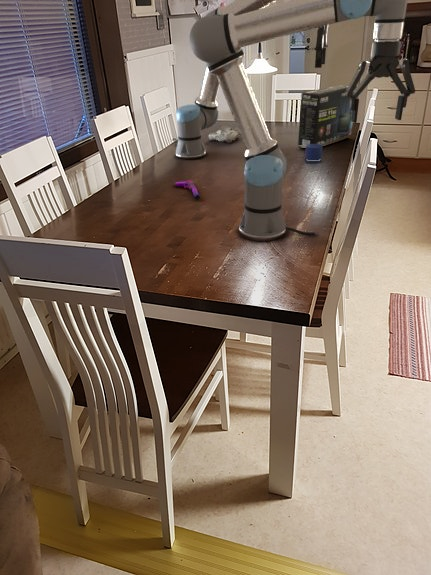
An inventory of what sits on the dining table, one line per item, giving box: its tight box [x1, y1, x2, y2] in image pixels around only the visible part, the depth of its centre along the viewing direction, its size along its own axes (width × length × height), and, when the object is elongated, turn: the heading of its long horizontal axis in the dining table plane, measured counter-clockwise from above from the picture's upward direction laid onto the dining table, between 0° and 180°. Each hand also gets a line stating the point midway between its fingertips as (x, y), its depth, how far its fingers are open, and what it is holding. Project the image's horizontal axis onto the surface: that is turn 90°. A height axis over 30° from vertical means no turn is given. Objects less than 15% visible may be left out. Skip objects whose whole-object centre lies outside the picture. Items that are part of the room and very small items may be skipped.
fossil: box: [208, 125, 241, 144], centre depth 258 cm, size 18×11×15 cm
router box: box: [297, 84, 358, 146], centre depth 238 cm, size 36×11×27 cm, turn 134°
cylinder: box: [304, 144, 324, 164], centre depth 215 cm, size 8×8×7 cm
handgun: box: [174, 179, 200, 201], centre depth 185 cm, size 21×8×2 cm, turn 11°
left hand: (319, 66), depth 196 cm, fingers open, 13 cm apart
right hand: (375, 120), depth 138 cm, fingers open, 13 cm apart
